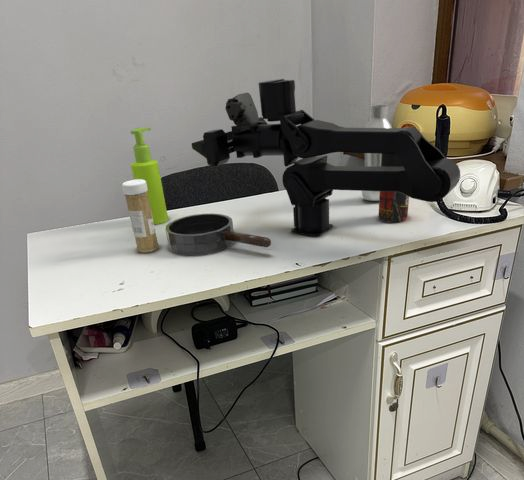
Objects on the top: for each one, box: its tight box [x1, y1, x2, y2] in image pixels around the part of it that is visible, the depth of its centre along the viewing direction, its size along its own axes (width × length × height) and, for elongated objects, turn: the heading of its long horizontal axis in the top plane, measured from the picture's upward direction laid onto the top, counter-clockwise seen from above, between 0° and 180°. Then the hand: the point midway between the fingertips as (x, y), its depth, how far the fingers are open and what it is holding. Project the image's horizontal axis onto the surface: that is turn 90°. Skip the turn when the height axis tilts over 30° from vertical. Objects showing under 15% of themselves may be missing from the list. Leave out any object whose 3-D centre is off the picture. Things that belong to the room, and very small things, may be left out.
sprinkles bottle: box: [121, 179, 160, 254], centre depth 95 cm, size 5×5×13 cm
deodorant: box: [377, 154, 410, 224], centre depth 99 cm, size 6×6×15 cm
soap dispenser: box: [130, 126, 169, 225], centre depth 110 cm, size 6×7×20 cm
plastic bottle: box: [361, 104, 393, 202], centre depth 110 cm, size 6×7×20 cm
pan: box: [165, 213, 235, 256], centre depth 98 cm, size 13×13×4 cm
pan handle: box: [221, 229, 272, 248], centre depth 92 cm, size 11×2×2 cm, turn 54°
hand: (206, 141), depth 104 cm, fingers open, 9 cm apart
